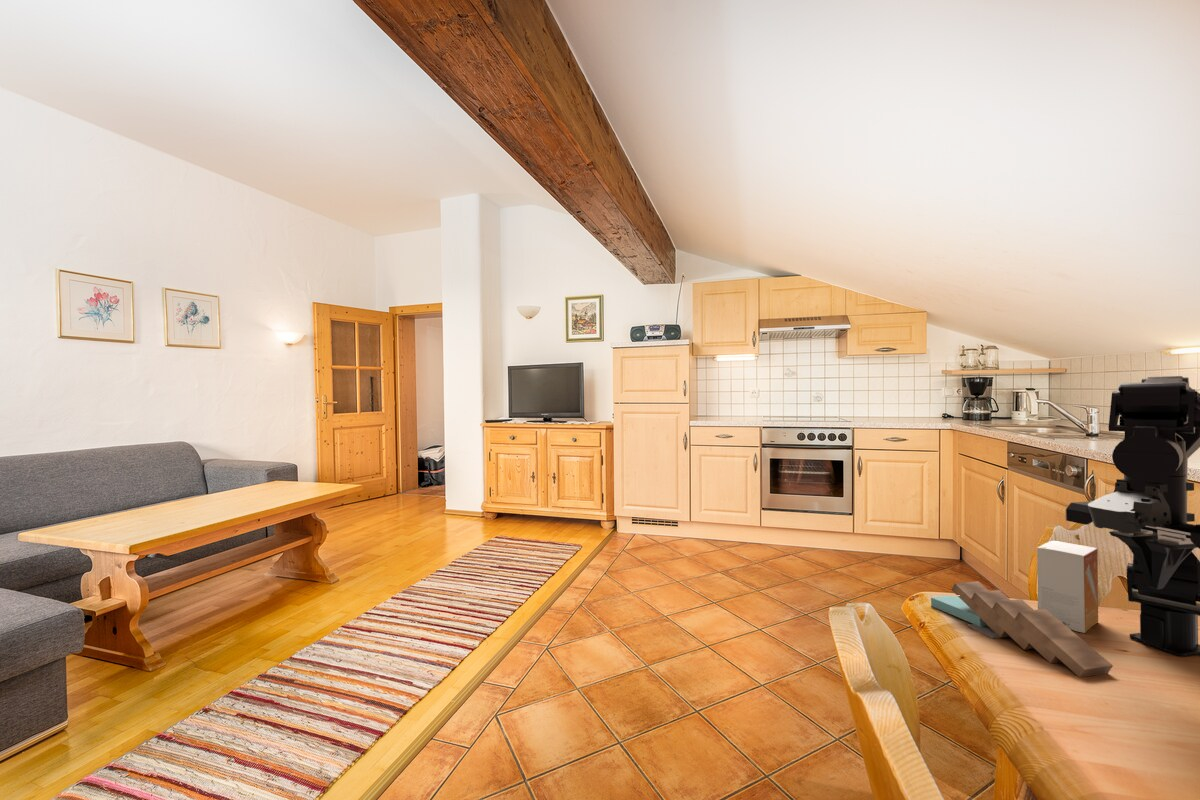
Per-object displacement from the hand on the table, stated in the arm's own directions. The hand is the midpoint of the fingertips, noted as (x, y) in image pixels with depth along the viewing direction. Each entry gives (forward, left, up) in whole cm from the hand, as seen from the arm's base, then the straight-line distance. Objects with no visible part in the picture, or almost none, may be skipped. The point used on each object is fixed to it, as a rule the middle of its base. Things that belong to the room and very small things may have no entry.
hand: (1156, 588), depth 68 cm
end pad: (+6, -17, -13) cm, 23 cm away
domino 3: (+6, -11, -12) cm, 17 cm away
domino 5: (+6, -3, -12) cm, 14 cm away
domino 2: (+6, -15, -12) cm, 20 cm away
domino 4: (+6, -7, -12) cm, 15 cm away
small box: (-9, -18, -13) cm, 24 cm away
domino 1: (+6, -19, -12) cm, 23 cm away
